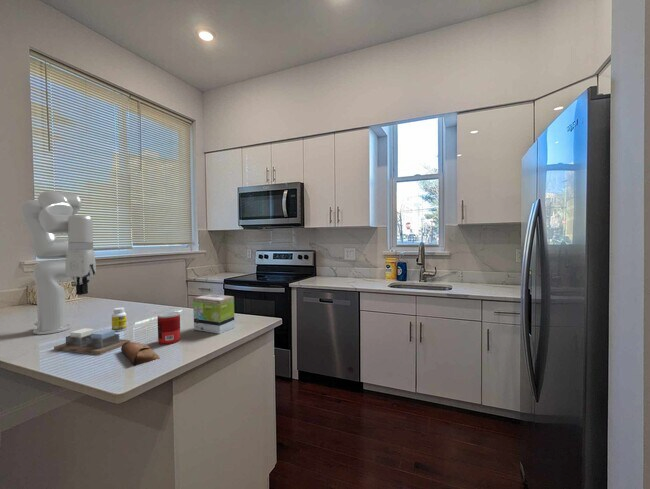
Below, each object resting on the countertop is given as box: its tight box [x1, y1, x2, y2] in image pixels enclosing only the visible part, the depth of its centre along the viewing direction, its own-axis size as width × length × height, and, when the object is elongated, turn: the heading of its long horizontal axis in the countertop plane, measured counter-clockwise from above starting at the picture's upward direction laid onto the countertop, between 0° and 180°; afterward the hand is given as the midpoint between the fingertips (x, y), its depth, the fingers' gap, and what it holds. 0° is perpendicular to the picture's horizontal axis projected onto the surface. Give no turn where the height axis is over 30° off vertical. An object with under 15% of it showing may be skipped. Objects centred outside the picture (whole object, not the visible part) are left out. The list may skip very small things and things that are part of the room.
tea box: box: [192, 293, 235, 335], centre depth 135 cm, size 15×10×15 cm, turn 68°
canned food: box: [157, 311, 181, 346], centre depth 120 cm, size 8×8×11 cm
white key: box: [69, 327, 96, 338], centre depth 116 cm, size 5×5×4 cm
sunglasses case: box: [120, 341, 161, 366], centre depth 106 cm, size 18×7×7 cm
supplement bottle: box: [111, 307, 127, 333], centre depth 136 cm, size 5×5×10 cm
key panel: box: [53, 333, 131, 356], centre depth 115 cm, size 22×12×4 cm, turn 76°
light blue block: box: [91, 329, 116, 340], centre depth 114 cm, size 5×5×4 cm
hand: (82, 294), depth 117 cm, fingers closed
